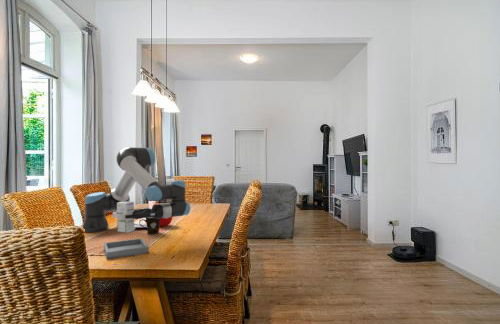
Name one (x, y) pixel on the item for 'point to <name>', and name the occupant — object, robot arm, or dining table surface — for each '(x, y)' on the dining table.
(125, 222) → the syrup box
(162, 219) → the tomato
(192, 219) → the dining table surface
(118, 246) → the tray
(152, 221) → the coffee mug
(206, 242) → the dining table surface
